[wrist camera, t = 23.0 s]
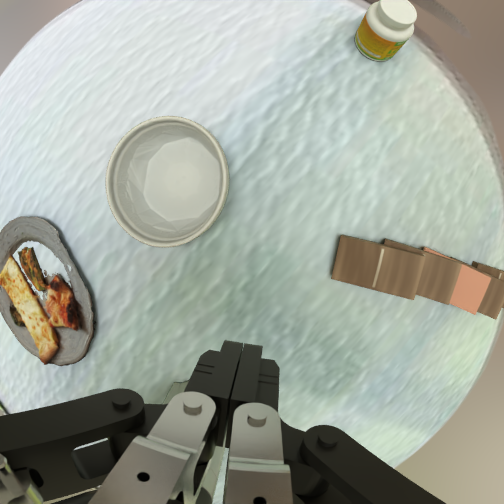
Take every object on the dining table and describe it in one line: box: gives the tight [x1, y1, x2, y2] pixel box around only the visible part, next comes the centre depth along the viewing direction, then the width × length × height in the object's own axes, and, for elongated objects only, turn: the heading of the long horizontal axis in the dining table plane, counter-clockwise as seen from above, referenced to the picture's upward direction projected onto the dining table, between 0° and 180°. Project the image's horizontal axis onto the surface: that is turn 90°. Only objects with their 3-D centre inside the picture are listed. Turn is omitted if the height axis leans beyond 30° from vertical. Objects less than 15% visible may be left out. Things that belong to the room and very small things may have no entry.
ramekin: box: [106, 116, 229, 247], centre depth 32 cm, size 13×13×7 cm
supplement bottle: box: [355, 0, 417, 61], centre depth 25 cm, size 5×5×10 cm
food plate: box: [0, 217, 96, 366], centre depth 40 cm, size 25×23×4 cm
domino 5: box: [472, 261, 504, 308], centre depth 34 cm, size 2×5×10 cm
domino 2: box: [384, 239, 462, 305], centre depth 33 cm, size 2×5×10 cm
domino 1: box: [331, 235, 426, 300], centre depth 33 cm, size 2×5×10 cm
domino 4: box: [451, 257, 504, 319], centre depth 32 cm, size 2×5×10 cm
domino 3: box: [423, 247, 491, 315], centre depth 32 cm, size 2×5×10 cm
